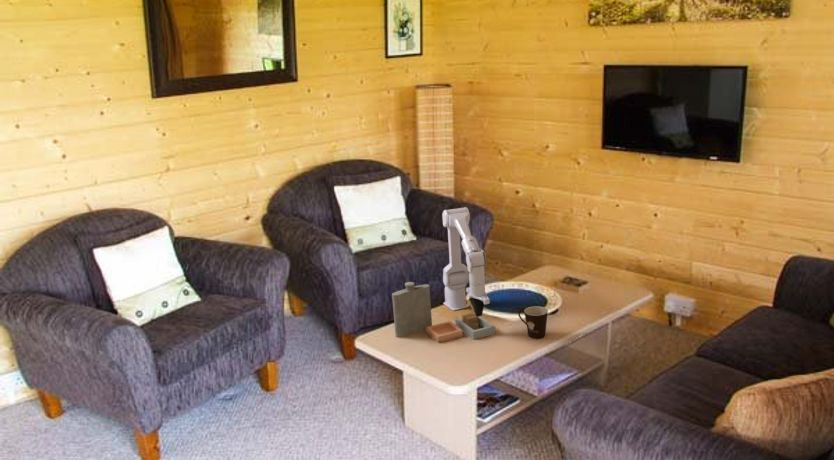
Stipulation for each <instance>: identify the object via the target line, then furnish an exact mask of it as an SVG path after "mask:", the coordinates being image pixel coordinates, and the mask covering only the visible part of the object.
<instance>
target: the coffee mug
mask: <svg viewBox="0 0 834 460" xmlns="http://www.w3.org/2000/svg"><path fill="white" fill-rule="evenodd" d="M521 312H523V313H524V318H525V320H524V319H523V318H522V316H521ZM548 313H549V312H548V308H546V307H544V306H537V305H535V306H529V307H526V308H525V309H521V310H518V313H517V314H518V318H519V319H520V320H521V321H522V322H523V324H525V325H526V330H527V336H528V338H530V339H533V340H541V339H544V338H545V337H546V332H547V323H548Z"/></svg>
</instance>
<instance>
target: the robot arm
mask: <svg viewBox="0 0 834 460" xmlns="http://www.w3.org/2000/svg"><path fill="white" fill-rule="evenodd" d="M441 215H442V225H443V227H444V228H447V229H446V230H447V240H448V253H449V254H448V256H449V257H448V258H449V259H448V260H449V263H448V264H447V265H446V266H445V267H443V270H442V271H443V272H442V273H443V274H442V280H443V281H442V282H443V285H444V286H445V287H444V302H443V304H444V305H445V306H446V307H447V308H449V309H450V310H452V311H453V312H455V311H458V310H459V311H460V310H463V309H466V308H470V307H469V306H468V305H467V304H468V303H467V300H466V299H467V298H468V300H469V301H468V302H470V304H471V306H472V308H473V312H474V314H475V315H476V316H477V317H479V316H481V317H482V316H483V312H484V308H485V305H489V304H490V298H489V297H488V295H487V292H486V282H485V281H486V280H485V266H486V264H487V258H486V257H487V256H486V253H485V250H483V249H482V248H480V246H479V243H478V241H477V239H476V237H475V236H473V235H472V233H471V230H470V226H469V224H470V220H471V214H470V211H469V208H468V207H466V206H464V207H459V208H452V209H444V210H443V211H442V214H441ZM461 239H462V240H461ZM461 246H462V249H463V252H464V253H465V262H466V264H464V263H462V253H461V251H462V250H461ZM468 283H469V286H468V287H467V285H468ZM466 293H467V294H466ZM466 295H467V296H466ZM466 297H467V298H466ZM466 303H467V304H466Z"/></svg>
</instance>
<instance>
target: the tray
mask: <svg viewBox="0 0 834 460" xmlns="http://www.w3.org/2000/svg"><path fill="white" fill-rule="evenodd" d="M425 331H426V332H425V333H426V334H427V335H428V336H430V338H432V339H433V340H434V341H435V342H437V343H438V344H439V343H443V342H447V341H451V340H454V339H458V338H462V337H464V334H463V333H464V332H463V330H461V329H460V328H459V327H457V326H456V325H455V322H452V321H451V320H448V321H444V322H441V323H436V324H432V326H428V327H426V330H425Z"/></svg>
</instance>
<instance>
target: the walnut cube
mask: <svg viewBox="0 0 834 460" xmlns="http://www.w3.org/2000/svg"><path fill="white" fill-rule="evenodd" d="M461 321H463V322H464V323H465V324H467V325H468V326H469V327H471V328H472V329H475V328H478V327H479V324H478V317H477V316H476V315H475V313H473V312H469V313H465V314H462V315H461Z"/></svg>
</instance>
